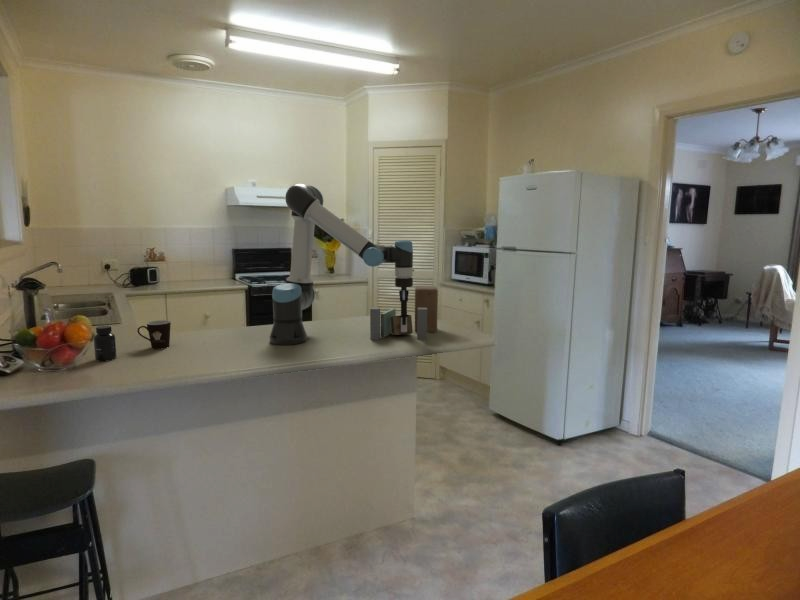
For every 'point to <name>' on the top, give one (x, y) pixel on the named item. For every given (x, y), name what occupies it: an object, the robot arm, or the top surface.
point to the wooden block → (427, 305)
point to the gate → (387, 322)
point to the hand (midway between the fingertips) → (404, 331)
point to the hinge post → (375, 323)
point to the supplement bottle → (104, 344)
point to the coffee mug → (158, 333)
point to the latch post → (422, 323)
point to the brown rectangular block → (397, 325)
